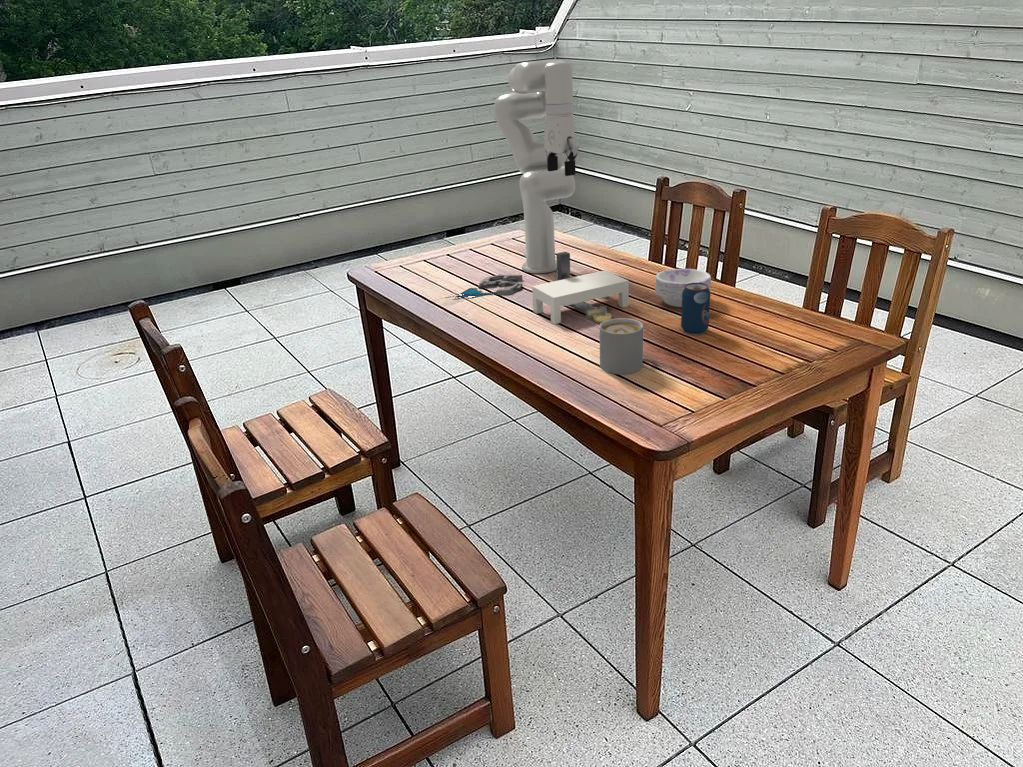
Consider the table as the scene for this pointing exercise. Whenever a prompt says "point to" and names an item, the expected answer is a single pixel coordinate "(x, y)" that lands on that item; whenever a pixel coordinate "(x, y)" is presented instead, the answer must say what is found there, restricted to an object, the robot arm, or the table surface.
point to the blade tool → (564, 273)
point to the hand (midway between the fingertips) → (561, 173)
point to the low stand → (578, 292)
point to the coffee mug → (621, 346)
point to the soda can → (695, 308)
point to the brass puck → (601, 317)
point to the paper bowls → (678, 283)
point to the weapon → (492, 282)
